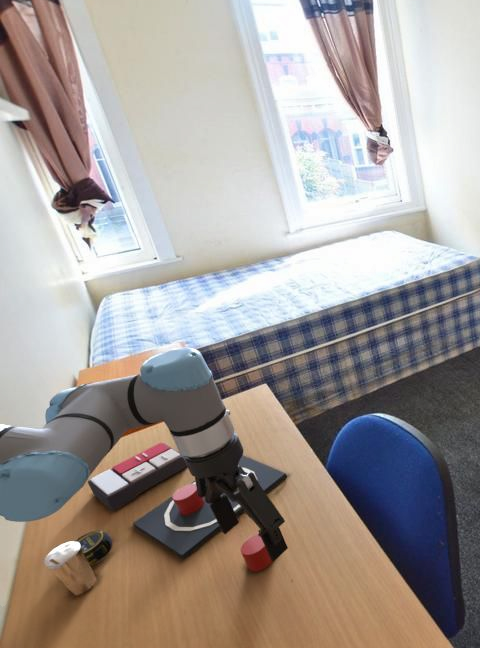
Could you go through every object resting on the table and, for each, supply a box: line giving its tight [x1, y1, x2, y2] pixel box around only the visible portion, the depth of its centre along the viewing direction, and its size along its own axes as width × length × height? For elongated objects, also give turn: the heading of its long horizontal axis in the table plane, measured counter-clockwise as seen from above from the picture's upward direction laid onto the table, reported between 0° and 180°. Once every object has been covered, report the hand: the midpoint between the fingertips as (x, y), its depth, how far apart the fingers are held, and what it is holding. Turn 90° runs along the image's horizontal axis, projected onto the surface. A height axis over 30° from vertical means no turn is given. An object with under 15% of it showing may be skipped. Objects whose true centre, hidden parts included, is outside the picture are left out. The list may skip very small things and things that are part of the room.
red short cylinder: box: [240, 533, 273, 572], centre depth 82 cm, size 4×4×4 cm
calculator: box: [87, 442, 188, 512], centre depth 105 cm, size 11×4×15 cm
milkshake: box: [43, 541, 97, 596], centre depth 79 cm, size 4×5×10 cm
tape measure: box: [73, 529, 114, 567], centre depth 86 cm, size 7×7×4 cm
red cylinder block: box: [171, 483, 205, 515], centre depth 94 cm, size 4×4×4 cm
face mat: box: [132, 454, 287, 560], centre depth 97 cm, size 22×18×1 cm
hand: (254, 540), depth 81 cm, fingers open, 13 cm apart
